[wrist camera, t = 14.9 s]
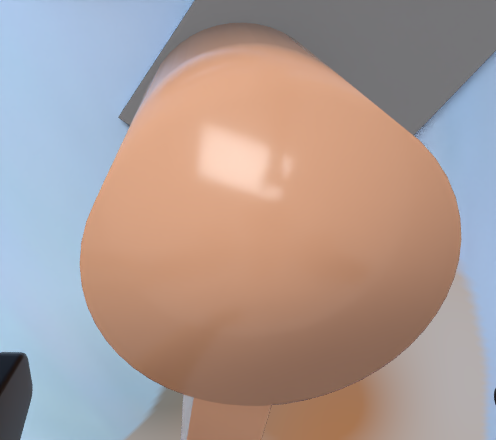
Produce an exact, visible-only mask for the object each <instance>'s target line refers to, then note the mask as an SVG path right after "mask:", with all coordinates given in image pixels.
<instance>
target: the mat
mask: <svg viewBox="0 0 496 440" xmlns="http://www.w3.org/2000/svg"><path fill="white" fill-rule="evenodd" d="M227 23H253V24H260V25H264V26H268V27H271V28H274V29H276V30H279V31H281V32H283V33H285V34H287V35H289V36H290V37H292V38H294V39H295V40H296V41H298V42H299V43H300V44H301V45H303V46H304V47H305V48H306V49H308V50H309V51H310V52H311V53H313V54H314V55H315V56H316V57H317V58H319V59H320V60H321V61H322V62H324V63H325V64H326V65H327V66H329V67H330V68H331V69H332V70H333V71H335V72H336V73H337V74H338V75H340V76H341V77H342V78H343V79H344V80H346V81H347V82H348V83H349V84H351V85H352V86H353V87H354V88H356V89H357V90H358V91H359V92H360V93H362V94H363V95H364V96H365V97H367V98H368V99H369V100H370V101H372V102H373V103H374V104H375V105H376V106H378V107H379V108H380V109H381V110H383V111H384V112H385V113H386V114H388V115H389V116H390V117H391V118H392V119H394V120H395V121H396V122H397V123H399V124H400V125H401V126H402V127H404V128H405V129H406V130H407V131H408V132H410V133H411V134H412V135H413V136H414V135H415V133H416V132H417V131H418V130H419V129H420V128H421V127H422V126H423V125H424V124H425V123H426V122H427V121H428V120H429V119H430V118H431V117H432V116H433V115H434V114H435V113H436V112H437V111H438V110H439V109H440V108H441V107H442V106H443V104H444V103H445V102H446V101H447V100H448V99H449V98H450V97H451V96H452V95H453V94H454V93H455V92H456V91H457V90H458V89H459V88H460V87H461V86H462V85H463V84H464V83H465V82H466V81H467V80H468V79H469V78H470V77H471V76H472V74H473V73H474V72H475V71H476V70H477V69H478V68H479V67H480V66H481V65H482V64H483V63H484V62H485V61H486V60H487V59H488V58H489V57H490V56H491V55H492V54H493V53H494V52H495V51H496V0H195V1H194V2H193V4H192V5H191V7H190V9H189V10H188V12H187V13H186V15H185V16H184V18H183V19H182V21H181V22H180V24H179V25H178V27H177V28H176V30H175V31H174V33H173V34H172V36H171V38H170V39H169V41H168V42H167V44H166V45H165V47H164V48H163V50H162V51H161V53H160V54H159V56H158V57H157V59H156V60H155V62H154V64H153V65H152V67H151V68H150V70H149V71H148V73H147V74H146V76H145V77H144V79H143V80H142V82H141V83H140V85H139V86H138V88H137V90H136V91H135V93H134V94H133V96H132V97H131V99H130V100H129V102H128V103H127V105H126V106H125V108H124V109H123V111H122V112H121V114H120V116H119V117H118V118H120V119H121V120H123V121H124V122H126V123H127V124H129V125H131V123H132V121H133V119H134V116H135V114H136V112H137V110H138V108H139V106H140V104H141V101H142V99H143V97H144V95H145V93H146V91H147V89H148V86H149V84H150V82H151V80H152V78H153V76H154V74H155V72H156V71H157V69H158V67H159V66H160V64H161V63H162V62H163V60H164V59H165V58H166V57H167V55H168V54H169V53H170V52H171V51H172V50H173V49H174V48H176V47H177V46H178V45H179V44H180V43H181V42H183V41H184V40H186V39H187V38H189V37H190V36H192V35H194V34H196V33H198V32H200V31H202V30H204V29H207V28H210V27H213V26H216V25H222V24H227Z"/></svg>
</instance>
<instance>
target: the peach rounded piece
mask: <svg viewBox="0 0 496 440" xmlns="http://www.w3.org/2000/svg"><path fill="white" fill-rule="evenodd" d="M460 246H461V223H460V215H459V210H458V206H457V201H456V197H455V195H454V192H453V190H452V187H451V185H450V183H449V180H448V178H447V176H446V174H445V173H444V171H443V170H442V168H441V166H440V165H439V163H438V162H437V160H436V158H435V157H434V156H433V155H432V154H431V153H430V152H429V151H428V149H427V148H426V147H425V146H424V145H423V144H422V143H421V142H420V140H418V139H417V138H416V137H415V136H413V135H412V134H411V133H410V132H408V131H407V130H406V129H405V128H404V127H402V126H401V125H400V124H399V123H397V122H396V121H395V120H394V119H392V118H391V117H390V116H389V115H388V114H386V113H385V112H384V111H383V110H381V109H380V108H379V107H378V106H376V105H375V104H374V103H373V102H372V101H370V100H369V99H368V98H367V97H365V96H364V95H363V94H362V93H360V92H359V91H358V90H357V89H356V88H354V87H353V86H352V85H351V84H349V83H348V82H347V81H346V80H344V79H343V78H342V77H341V76H340V75H338V74H337V73H336V72H335V71H333V70H332V69H331V68H330V67H329V66H327V65H326V64H325V63H324V62H322V61H321V60H320V59H319V58H317V57H316V56H315V55H314V54H313V53H311V52H310V51H309V50H308V49H306V48H305V47H304V46H303V45H301V44H300V43H299V42H298V41H296V40H295V39H294V38H292V37H290V36H289V35H287V34H285V33H283V32H281V31H279V30H276V29H274V28H271V27H268V26H264V25H260V24H253V23H227V24H222V25H216V26H213V27H210V28H207V29H204V30H202V31H200V32H198V33H196V34H194V35H192V36H190V37H189V38H187V39H186V40H184V41H183V42H181V43H180V44H179V45H178V46H177V47H176V48H174V49H173V50H172V51H171V52H170V53H169V54H168V55H167V57H166V58H165V59H164V60H163V62H162V63H161V64H160V66H159V67H158V69H157V71H156V72H155V74H154V76H153V78H152V80H151V82H150V84H149V86H148V89H147V91H146V93H145V95H144V97H143V99H142V101H141V104H140V106H139V108H138V110H137V112H136V114H135V116H134V119H133V121H132V123H131V125H130V127H129V129H128V131H127V134H126V136H125V138H124V140H123V142H122V144H121V146H120V149H119V151H118V153H117V155H116V157H115V159H114V161H113V164H112V166H111V168H110V170H109V172H108V174H107V176H106V179H105V181H104V183H103V185H102V187H101V189H100V191H99V194H98V196H97V198H96V200H95V202H94V205H93V207H92V210H91V212H90V214H89V217H88V219H87V222H86V226H85V230H84V234H83V238H82V242H81V255H80V272H81V282H82V288H83V292H84V296H85V299H86V303H87V306H88V309H89V311H90V313H91V315H92V317H93V320H94V322H95V324H96V326H97V327H98V329H99V330H100V332H101V333H102V335H103V336H104V338H105V339H106V341H107V342H108V343H109V344H110V345H111V347H112V348H113V349H114V350H115V351H116V352H117V353H118V355H119V356H121V357H122V358H123V359H124V360H125V361H126V362H127V363H129V364H130V365H131V366H132V367H133V368H134V369H136V370H137V371H139V372H140V373H142V374H143V375H145V376H146V377H148V378H149V379H151V380H153V381H155V382H157V383H159V384H160V385H162V386H164V387H166V388H168V389H171V390H174V391H176V392H179V393H181V394H183V410H182V411H183V412H182V431H181V440H262V436H263V433H264V429H265V426H266V423H267V420H268V416H269V413H270V409H271V406H272V405H278V404H287V403H292V402H298V401H304V400H308V399H312V398H315V397H319V396H322V395H326V394H329V393H331V392H334V391H337V390H340V389H342V388H344V387H347V386H349V385H351V384H353V383H356V382H358V381H360V380H362V379H364V378H365V377H367V376H369V375H371V374H372V373H374V372H376V371H377V370H379V369H381V368H382V367H384V366H385V365H386V364H388V363H389V362H391V361H392V360H393V359H395V358H396V357H397V356H398V355H400V354H401V353H402V352H403V351H404V350H405V349H406V348H408V347H409V346H410V345H411V344H412V343H413V342H414V341H415V340H416V339H417V338H418V336H419V335H420V334H421V333H422V332H423V331H424V330H425V329H426V327H427V326H428V325H429V323H430V322H431V321H432V319H433V318H434V317H435V315H436V314H437V312H438V310H439V309H440V307H441V305H442V304H443V301H444V300H445V298H446V297H447V294H448V292H449V289H450V287H451V285H452V282H453V280H454V277H455V273H456V269H457V265H458V261H459V255H460Z"/></svg>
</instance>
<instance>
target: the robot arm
mask: <svg viewBox="0 0 496 440" xmlns="http://www.w3.org/2000/svg"><path fill="white" fill-rule="evenodd" d="M31 397H32V380H31V374H30V368H29V362H28V358H27V356H26V354H25V353H22V352H1V353H0V440H20V438H21V434H22V431H23V427H24V423H25V420H26V416H27V413H28V409H29V405H30V402H31ZM494 400H495V404H496V389H495V391H494Z"/></svg>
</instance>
